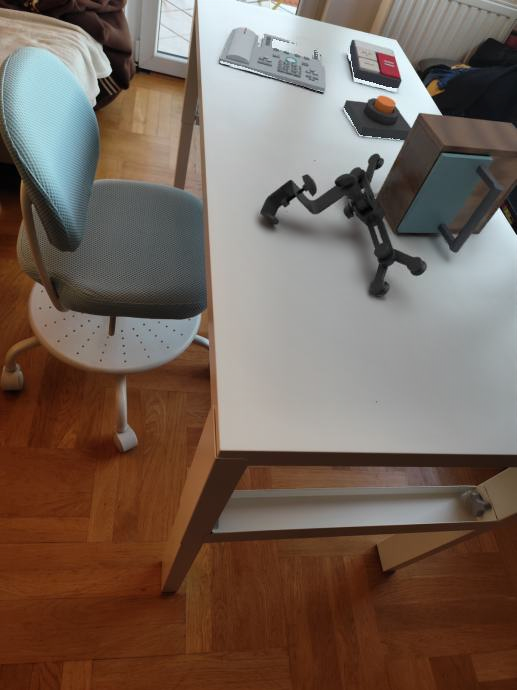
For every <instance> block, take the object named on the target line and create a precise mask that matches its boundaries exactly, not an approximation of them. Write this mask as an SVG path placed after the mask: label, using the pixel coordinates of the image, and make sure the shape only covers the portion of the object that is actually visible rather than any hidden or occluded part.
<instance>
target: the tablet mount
mask: <svg viewBox="0 0 517 690" xmlns="http://www.w3.org/2000/svg"><path fill="white" fill-rule="evenodd" d="M367 164H368V165H367V167H366V170H365V169H362V168H361V167H360V166H357V167H354V168H353V169H352V170H350V172H349V173H343V174H341V175H339V176H337V177H336V179H334V181H333V183H334V186H333V187H331V188H329V189H328V190H327V191H325V192H324V193H322V194H321V195H320V196H318V197H317V198H315V199H309V197H307V196H306V195H305V193H304V192H308V193H309V195H310V196H311V197H314V196H315V195H316V194H317V191H318V188H317V184H316V181H315V180H314V179H313V177H312V176H310V174H304V175H301V178H302V181H303V184H302V186H301V188H300V187H299V186H298V185H297V183H296V182H295V181H294V180H292V179H289V180H287V181H286V182H284V184H282V185H280V187H278V188H277V189H275V190H274V191H273V192H272V193H271V194H269V195H268V196H267V197H266V199H265V200H264V203H263V205H262V207H261V209H260V212H259V214H260V215H261V216H262V217H263V218H264V219H266V220H267V222H268V223H270V224H271V225H274V226H278V225H279V222H280V221H279V218H277V217H276V215H277V212H278V210H279V208H281V207H282V206H283V208H288V206H290V205H291V201H293V200H294V199H295V198H296V199H297V200H298V201H299V203H301V205H303V206H304V207H305V208H306V209H307V211H308V212H309V213H310V214H312V215H319V214H320V213H322V212H324V211H325V210H326V209H328V208H329V207H331V206H332V205H334V204H336V202H338V201H340V200H341V199H342V198H344V197H346V198H347V199H348V200H349V202H347V204H345V206H344V207H343V210H342V211H343V214H344V216H345V217H346V219H353V218H355V216H356V217H357V218H358V219H359V220H360V221H361V222H362V223H363V224H364V225H365V226H366V227H367V229H368V232H369V235H370V239H371V241H372V244H373V248H374V249H373V255H374V257H376V259H377V263H378V266H377V269H376V272H375V275H374V278H373V280H372V282H370V285H369V288H370V290H371V291H372V292H373V293H374V295H375V296H376V297H383V296H385V295H386V294H388V292H389V290H390V283H389V282H388V281H385V278H386V275H387V271H388V269H389V267H391V266H392V265H394V263H395V262H396V263H399V264H400V265H403V266H405V267H406V268H407V270H408V271H409V272H410V274H411V275H412V276H414V277H418V276H421V275H422V274H423V275H424V273H425V272H426V271H427V268H428V265H427V262H426V261H425V260H423V259H422V258H421V257H420V256H412V255H410V254H408V253H405V252H403V251H400V250H398V249H396V248H394V247H393V245H392V242H391V238H390V236H389V233H388V231H387V228H386V225H385V222H384V219H385V217H384V216H385V211H384V210H383V209H382V207H381V205H380V204H379V202H378V201H377V200H376V197H375V194H374V192H373V188H372V186H371V183H372V180H373V177H374V175H375V171H377V170H379V169H381V168H382V167H383V166H384V165H385V159H384V158H383V157H381V155H380V154H379V153H373V154H372V155H370V157H369V158H368V160H367ZM354 213H355V214H354ZM375 227H377V230H378V233H379V236H380V239H381V241H382V242H381V243H380V240H379V238H378V235H377V231H376V229H375Z"/></svg>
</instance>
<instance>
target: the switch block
mask: <svg viewBox="0 0 517 690" xmlns="http://www.w3.org/2000/svg"><path fill="white" fill-rule="evenodd" d="M376 99H377V97H376V98H375V97H374V98H369V99H368V100H367V102H365V101H357V100H350V99H349V100H347V99H346V100H345V102H344V104H343V108H345V110H346V112H347V113H348V115H349V116H350V118H351V120H352V122H353V124H354V126H355V127H356V129H357V131H358V133H359V134H360V135H363V136H372V137H381V138H391V139H392V138H393V139H400V140H406V138H407V136H408V134H409V132H410V130H411V128H412V126H410V124H409V123H408V122H407V120H406V119H405V118H404V116H403V115H402V113H401V111H400V110H399V109H398V107H397V106H396V105H395V107H394V109H393V112H392V113H391V114H388V113H383V112H381V111H379V110H377V109H376V108H375V107H374V104H375V102H376ZM400 140H399V141H400Z"/></svg>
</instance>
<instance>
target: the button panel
mask: <svg viewBox="0 0 517 690" xmlns="http://www.w3.org/2000/svg"><path fill="white" fill-rule="evenodd" d="M349 47H350V54H351V61H352V67H353V72H354V77H355V78H358V79H361V80H365V81H369V82H373V83H376V84H379V85H383V86H386V87H392V88H398V89H399V87H400V86H401V83H402V76H401V73H400V69H399V66H398V62H397V59H396V55H395V53H394V50H393V49H391V48H389V47H385V46H381V45H378V44H374V43H370V42H366V41H363V40H360V39H352V40H351V42H350V45H349Z"/></svg>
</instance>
